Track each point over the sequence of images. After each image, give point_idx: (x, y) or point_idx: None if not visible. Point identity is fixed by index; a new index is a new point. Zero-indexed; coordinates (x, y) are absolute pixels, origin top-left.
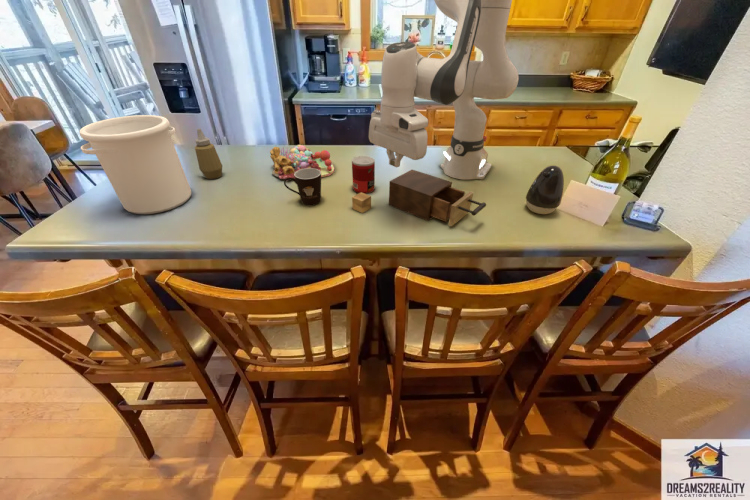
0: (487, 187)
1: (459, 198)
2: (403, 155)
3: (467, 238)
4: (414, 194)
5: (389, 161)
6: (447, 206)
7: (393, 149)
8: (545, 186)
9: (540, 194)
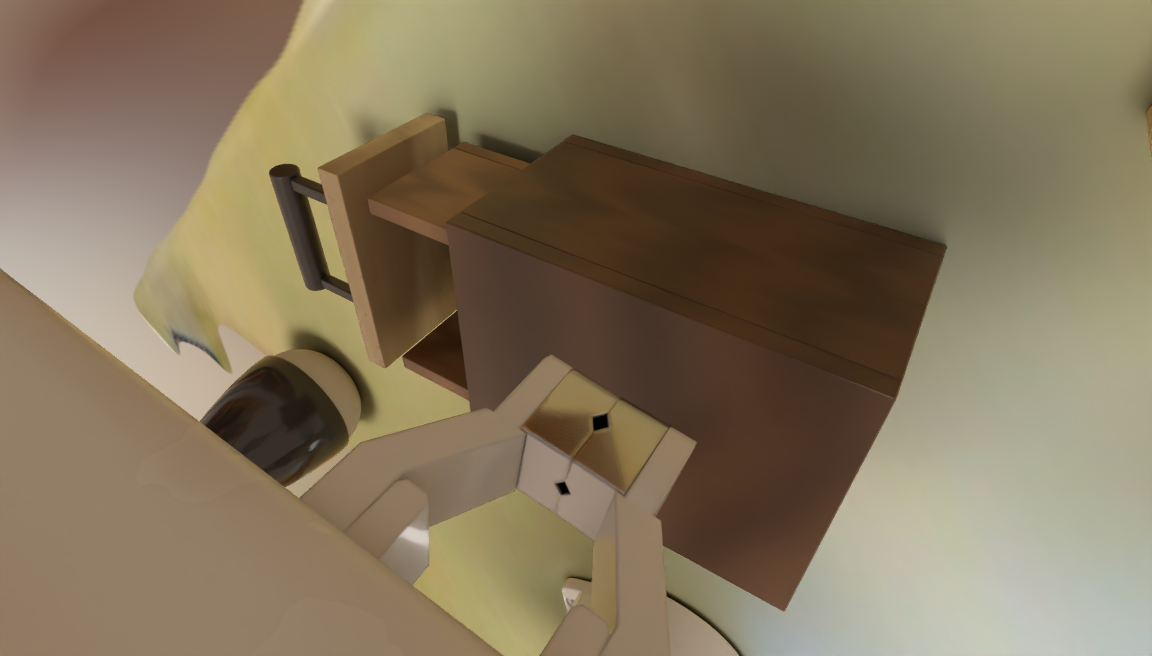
0: (524, 517)
1: (448, 337)
2: (142, 384)
3: (348, 54)
4: (604, 254)
5: (663, 471)
6: (389, 187)
7: (315, 593)
8: (221, 421)
9: (251, 396)
